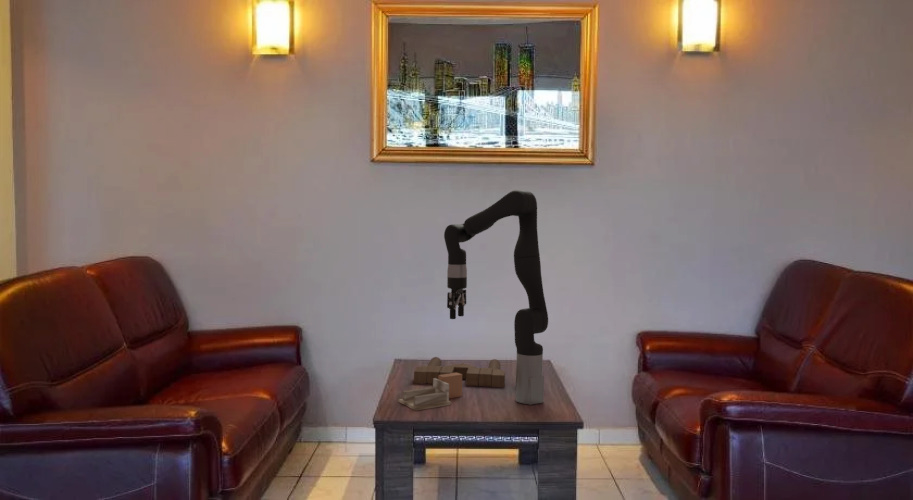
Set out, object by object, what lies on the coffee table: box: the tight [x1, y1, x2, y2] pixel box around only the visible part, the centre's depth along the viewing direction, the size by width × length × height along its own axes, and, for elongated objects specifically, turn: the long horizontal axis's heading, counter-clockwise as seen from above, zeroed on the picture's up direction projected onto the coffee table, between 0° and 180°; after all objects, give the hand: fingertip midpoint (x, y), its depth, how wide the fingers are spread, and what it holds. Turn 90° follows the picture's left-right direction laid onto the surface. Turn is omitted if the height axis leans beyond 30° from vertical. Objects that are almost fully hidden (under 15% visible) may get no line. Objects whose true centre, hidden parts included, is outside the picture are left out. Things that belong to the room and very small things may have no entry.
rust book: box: [438, 373, 463, 399], centre depth 250 cm, size 4×8×8 cm, turn 123°
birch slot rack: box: [398, 378, 452, 411], centre depth 241 cm, size 12×14×7 cm
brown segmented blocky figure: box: [413, 356, 506, 388], centre depth 281 cm, size 35×6×29 cm
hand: (456, 317), depth 269 cm, fingers open, 8 cm apart
